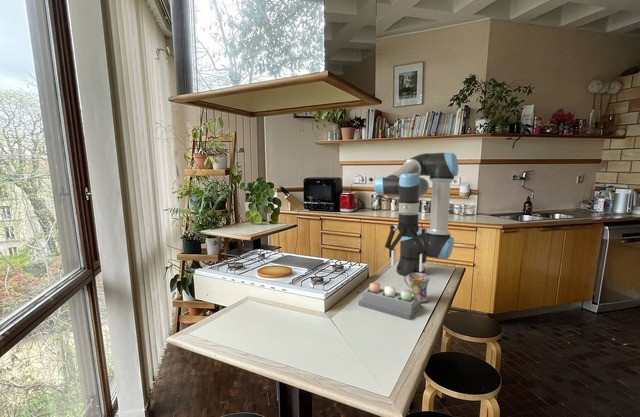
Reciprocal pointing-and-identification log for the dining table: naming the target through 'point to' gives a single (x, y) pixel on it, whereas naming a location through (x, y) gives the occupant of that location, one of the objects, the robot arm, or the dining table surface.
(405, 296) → the pale green rounded piece
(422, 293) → the mug
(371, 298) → the panel
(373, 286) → the brown egg
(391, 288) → the white egg
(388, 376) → the dining table surface
